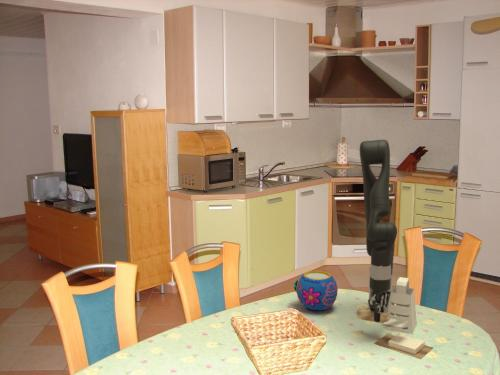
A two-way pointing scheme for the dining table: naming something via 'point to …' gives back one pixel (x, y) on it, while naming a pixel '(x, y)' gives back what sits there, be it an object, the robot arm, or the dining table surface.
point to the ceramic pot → (316, 290)
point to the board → (384, 343)
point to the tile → (406, 344)
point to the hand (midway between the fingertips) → (378, 320)
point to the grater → (403, 305)
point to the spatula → (381, 319)
